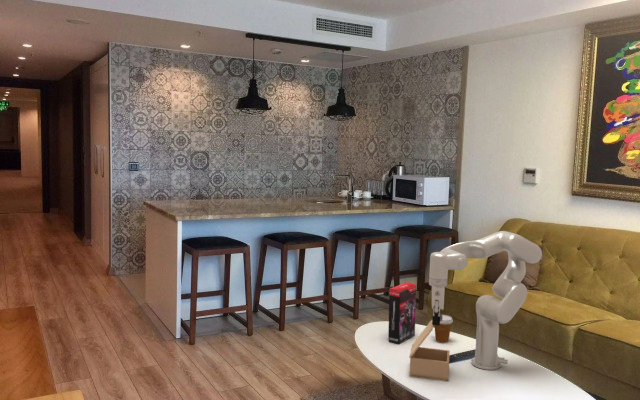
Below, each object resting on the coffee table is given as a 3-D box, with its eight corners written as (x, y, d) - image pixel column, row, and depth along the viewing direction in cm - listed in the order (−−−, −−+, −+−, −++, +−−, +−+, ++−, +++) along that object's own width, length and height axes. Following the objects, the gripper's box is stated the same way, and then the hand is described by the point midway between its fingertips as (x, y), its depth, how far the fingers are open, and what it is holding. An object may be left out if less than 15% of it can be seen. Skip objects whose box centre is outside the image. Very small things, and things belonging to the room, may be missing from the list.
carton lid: (444, 311, 241) (437, 306, 241) (444, 322, 227) (435, 316, 228) (416, 348, 246) (408, 342, 246) (413, 360, 232) (405, 354, 232)
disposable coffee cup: (428, 340, 275) (429, 317, 274) (438, 335, 282) (439, 313, 281) (445, 345, 269) (446, 321, 268) (455, 340, 276) (456, 317, 274)
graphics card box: (398, 345, 268) (401, 291, 265) (386, 341, 272) (388, 288, 269) (415, 335, 281) (417, 284, 278) (403, 332, 285) (405, 281, 282)
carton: (448, 367, 243) (449, 350, 242) (448, 381, 229) (449, 362, 228) (412, 363, 247) (413, 346, 246) (409, 376, 233) (410, 358, 232)
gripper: (446, 287, 224) (444, 330, 226) (447, 277, 240) (445, 317, 242) (428, 285, 226) (426, 328, 228) (429, 275, 242) (428, 316, 244)
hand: (436, 322), depth 235 cm, fingers closed on carton lid, 4 cm apart
